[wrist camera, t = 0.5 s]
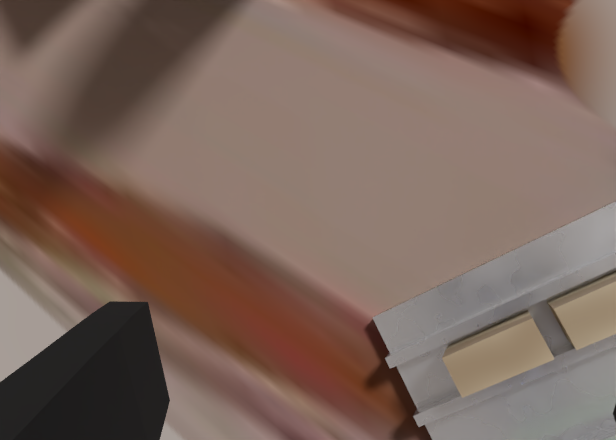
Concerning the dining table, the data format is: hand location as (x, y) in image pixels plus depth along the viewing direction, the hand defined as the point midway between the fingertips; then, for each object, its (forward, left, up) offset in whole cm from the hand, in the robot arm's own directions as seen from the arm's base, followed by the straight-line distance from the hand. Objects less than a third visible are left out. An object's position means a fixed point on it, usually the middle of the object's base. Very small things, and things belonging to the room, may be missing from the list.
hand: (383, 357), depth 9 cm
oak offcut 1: (-4, 0, -23) cm, 23 cm away
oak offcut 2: (-4, -5, -23) cm, 24 cm away
